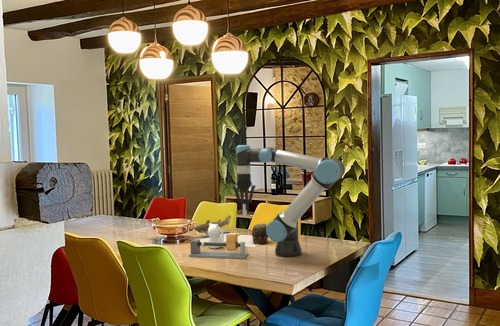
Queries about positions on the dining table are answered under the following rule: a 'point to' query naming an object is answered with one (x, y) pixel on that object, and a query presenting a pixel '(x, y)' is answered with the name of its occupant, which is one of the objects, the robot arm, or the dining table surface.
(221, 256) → the slider rail
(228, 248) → the sleeve
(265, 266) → the dining table surface
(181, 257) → the dining table surface
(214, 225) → the cat figurine
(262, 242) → the carved stone head
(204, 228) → the wood carving
